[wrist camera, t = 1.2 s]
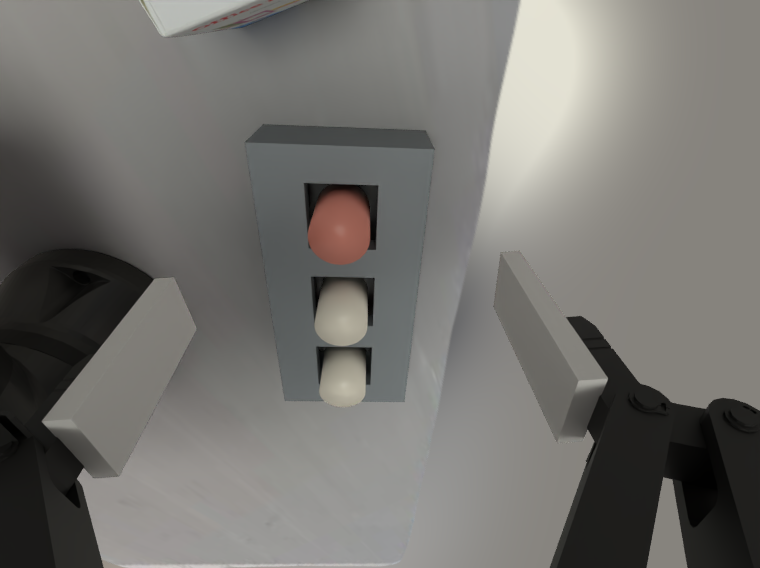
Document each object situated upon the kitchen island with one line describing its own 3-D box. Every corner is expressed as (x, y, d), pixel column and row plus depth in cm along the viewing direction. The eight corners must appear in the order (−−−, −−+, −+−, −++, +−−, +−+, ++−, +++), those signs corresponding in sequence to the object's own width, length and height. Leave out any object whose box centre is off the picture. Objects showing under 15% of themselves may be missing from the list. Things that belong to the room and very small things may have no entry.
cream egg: (367, 308, 34) (366, 346, 30) (322, 307, 34) (315, 345, 30) (368, 270, 32) (368, 306, 28) (320, 269, 32) (312, 305, 28)
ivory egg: (365, 367, 38) (364, 407, 34) (325, 366, 38) (320, 406, 34) (366, 337, 36) (366, 376, 32) (323, 336, 36) (318, 376, 32)
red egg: (369, 232, 30) (369, 265, 26) (317, 231, 30) (309, 264, 26) (370, 183, 28) (370, 210, 24) (315, 181, 27) (305, 208, 23)
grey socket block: (401, 365, 43) (404, 401, 39) (293, 363, 42) (284, 400, 38) (425, 130, 29) (434, 149, 25) (263, 124, 28) (244, 142, 24)
